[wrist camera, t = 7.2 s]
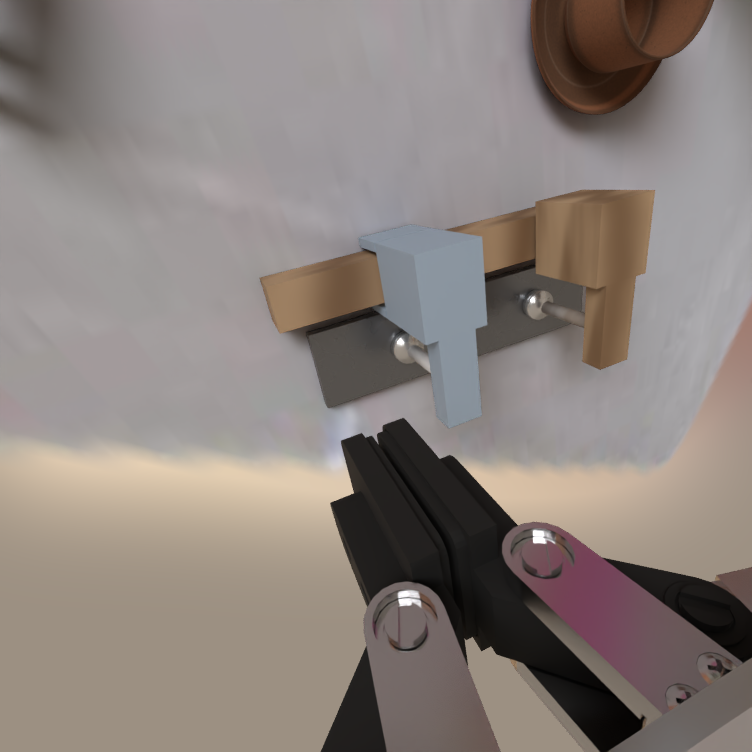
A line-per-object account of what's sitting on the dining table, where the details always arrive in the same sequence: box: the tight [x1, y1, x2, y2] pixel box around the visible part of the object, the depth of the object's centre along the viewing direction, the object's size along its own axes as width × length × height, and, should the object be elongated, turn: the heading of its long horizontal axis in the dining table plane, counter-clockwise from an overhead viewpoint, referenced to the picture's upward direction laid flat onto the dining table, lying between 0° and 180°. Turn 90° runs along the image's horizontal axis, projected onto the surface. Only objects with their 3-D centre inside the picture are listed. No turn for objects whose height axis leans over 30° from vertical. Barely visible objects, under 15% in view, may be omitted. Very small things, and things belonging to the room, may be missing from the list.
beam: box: [260, 190, 655, 370], centre depth 29 cm, size 24×11×9 cm, turn 101°
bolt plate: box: [306, 264, 582, 408], centre depth 34 cm, size 24×6×2 cm, turn 101°
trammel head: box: [358, 225, 487, 428], centre depth 28 cm, size 4×11×9 cm, turn 11°
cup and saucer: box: [531, 0, 714, 115], centre depth 27 cm, size 12×12×6 cm
